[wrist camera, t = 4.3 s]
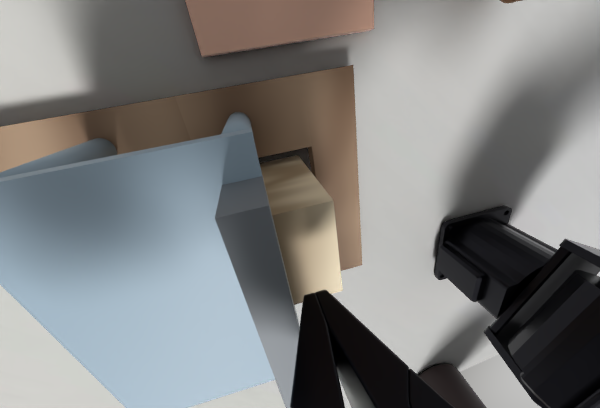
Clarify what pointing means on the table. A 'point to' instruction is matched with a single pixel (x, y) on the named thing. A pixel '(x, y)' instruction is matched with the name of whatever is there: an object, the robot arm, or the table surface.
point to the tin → (509, 1)
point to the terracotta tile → (274, 22)
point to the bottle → (451, 386)
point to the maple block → (303, 227)
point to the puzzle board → (211, 121)
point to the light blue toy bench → (154, 266)
